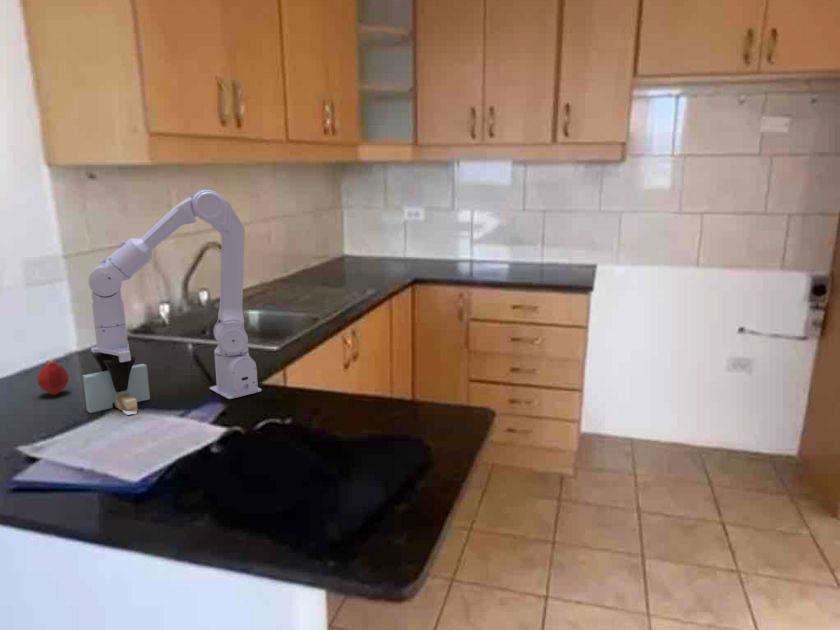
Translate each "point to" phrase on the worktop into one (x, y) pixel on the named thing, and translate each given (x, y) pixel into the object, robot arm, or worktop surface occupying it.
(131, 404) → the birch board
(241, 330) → the robot arm
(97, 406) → the teal plate
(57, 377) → the onion
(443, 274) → the worktop surface
